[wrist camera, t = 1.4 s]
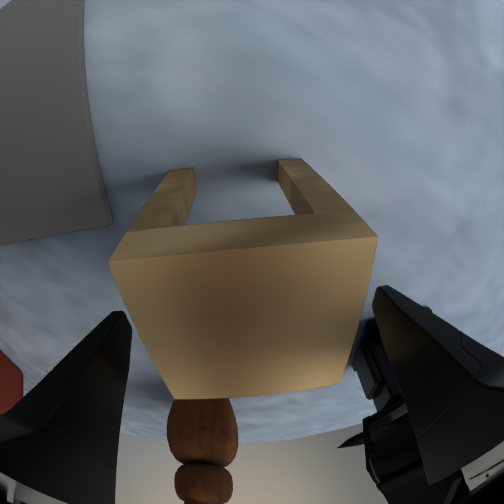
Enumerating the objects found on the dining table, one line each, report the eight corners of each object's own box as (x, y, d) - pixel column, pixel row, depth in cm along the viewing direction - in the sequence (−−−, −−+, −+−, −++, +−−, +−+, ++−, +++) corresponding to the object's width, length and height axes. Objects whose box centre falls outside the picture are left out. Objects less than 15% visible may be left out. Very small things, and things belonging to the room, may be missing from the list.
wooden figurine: (162, 377, 22) (149, 539, 9) (226, 372, 22) (235, 547, 9) (187, 409, 25) (184, 539, 13) (240, 406, 25) (251, 541, 12)
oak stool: (301, 158, 13) (378, 236, 6) (300, 267, 16) (339, 383, 10) (169, 170, 13) (108, 261, 6) (190, 278, 16) (174, 399, 9)
